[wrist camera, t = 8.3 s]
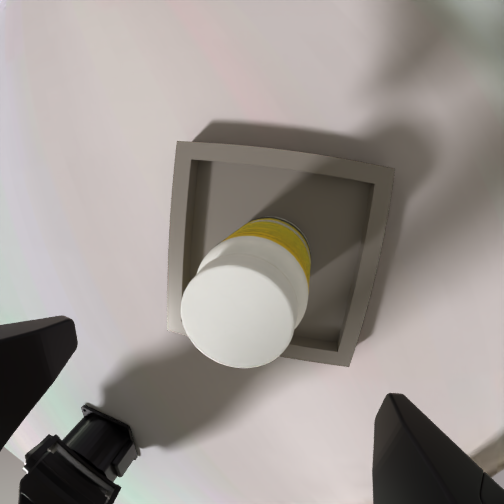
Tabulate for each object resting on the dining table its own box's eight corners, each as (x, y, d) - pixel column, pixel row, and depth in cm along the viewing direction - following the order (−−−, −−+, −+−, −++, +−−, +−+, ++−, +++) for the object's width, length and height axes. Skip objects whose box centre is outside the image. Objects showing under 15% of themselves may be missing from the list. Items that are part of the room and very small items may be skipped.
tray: (177, 319, 21) (167, 330, 19) (189, 143, 18) (176, 141, 16) (346, 351, 19) (349, 366, 17) (387, 169, 16) (395, 168, 14)
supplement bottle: (239, 207, 18) (177, 234, 10) (319, 225, 17) (325, 270, 9) (225, 283, 19) (166, 356, 11) (300, 302, 18) (286, 391, 10)
